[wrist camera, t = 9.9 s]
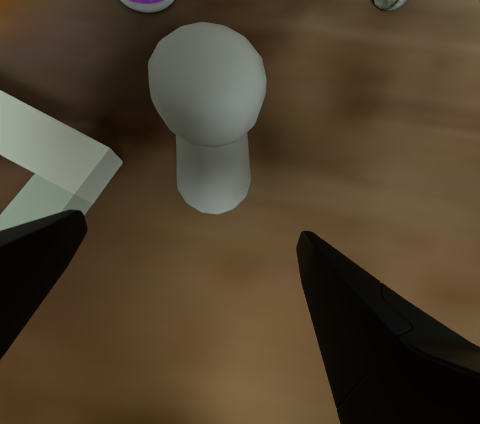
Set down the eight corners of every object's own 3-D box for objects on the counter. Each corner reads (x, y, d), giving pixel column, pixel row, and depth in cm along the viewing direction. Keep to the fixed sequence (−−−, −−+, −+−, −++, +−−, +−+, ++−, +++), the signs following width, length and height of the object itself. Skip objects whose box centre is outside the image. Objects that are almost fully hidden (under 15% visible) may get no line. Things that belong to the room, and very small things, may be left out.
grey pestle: (169, 177, 20) (80, 23, 7) (224, 147, 21) (231, -32, 8) (204, 232, 19) (174, 169, 6) (259, 198, 20) (327, 86, 7)
